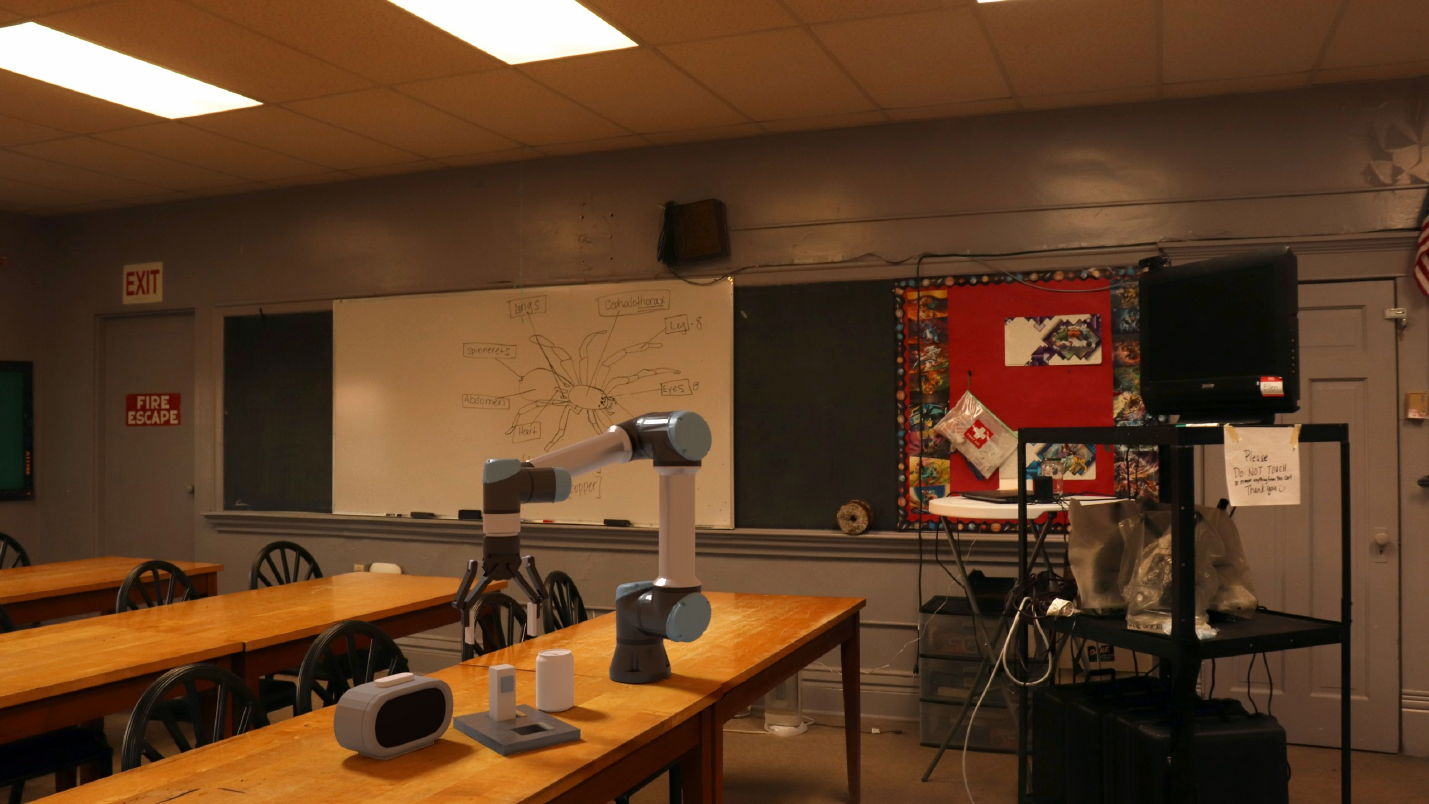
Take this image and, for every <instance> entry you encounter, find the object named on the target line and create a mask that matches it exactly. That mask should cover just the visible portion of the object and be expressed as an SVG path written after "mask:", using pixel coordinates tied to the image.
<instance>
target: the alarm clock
mask: <svg viewBox="0 0 1429 804" xmlns="http://www.w3.org/2000/svg"><path fill="white" fill-rule="evenodd" d="M453 714H454V694H453V692H452V688H451V687H450V685H449V684H448V683H447V682H445V681H444V680H442V679H440V678H435V677H429V676H421V675H415V674H414V673H412V672H401V673H396V674H392V675H388V676H385V677H380V678H377V679H374V681H370V682H366V683H363V684H362V683H361V684H359V685H356V686H354V687H352V688H349V689H348V690H347V691H345V692H344V694H342V695H341V697H339V700H338V702H337V704H336V706H335V709H334V714H333V733H334V737H335V739H336V742H337V743H338V745H339V746H340V747H341V748H344V749H346V750H349V751H353V752H357V755H360V756H364V757H367V758H368V757H369V758H372V759H376V760H380V761H385V762H386V761H387V760H391V759H394V758H397V757H400V756H402V755H406V754H407V753H411V752H414V751H417V750H420V749H423V748H426V747H429V746H431V745H434V741H435V740H438V739H440V738H442V737H443V735H444V734H445V733H446V732H447V731H448V729H449V727H450V725H451V723H452V720H453Z"/></svg>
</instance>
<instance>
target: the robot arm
mask: <svg viewBox="0 0 1429 804" xmlns="http://www.w3.org/2000/svg"><path fill="white" fill-rule="evenodd" d="M712 439H713V437H712V431H711V428H710V425H709V424H708V422H707V421H706V420H705V418H703V416H701V414H699V413H697V412H695V411H690V410H682V409H679V410H671V411H653V412H646V413H644V414H643V413H642V414H641V415H636V416H635V417H633V418H629V419H627V420H625V421H623V422H620V423H617V424H614V425H612V426H611V425H610V427H608V428H607V430H606V432H605V433H601V434H598V435H596V436H593V437H589V438H586V439H583V440H582V441H578V442H575V443H573V444H570V445H566V446H564V447H561V448H558V449H556V450H552V451H550V452H547V453H545V454H541V455H539V456H538V455H537V456H536V457H535V456H534V457H533V458H530V459H527V460H525V461H524V460H523V461H520V460H519V459H518V458H488V459H487V460H485V462H484V464H483V470H482V472H483V474H482V481H481V482H482V510H483V512H482V532H483V533H484V534H485V535H483V537H482V559H481V560H475V559H468V560H467V564H466V565H467V566H466V571H465V574H464V576H463V578H462V581H461V582H460V584H459V586H458V589H457V591H456V593H455V596H454V598H453V600H452V602H451V607H452V608H455V609H458V610H460V624H461V627H464V635H465V636H464V637H465V638H464V642H465V643H466V644H469V645H475V610H473V609H472V608H473V606H474V605H475V604H476V602H477V601H478V599H479V598H480V597H481V596H482V595H483V593H484V592H485V591H486V589H487V587H488V586H489V585H490V584H491V583H492V582H493V581H494V582H499V581H500V582H501V581H503V580H507V581H510V580H511V579H512V580H513V581H514V582H515V583H516V585H517V586H518V587H519V588H520V589H521V590H522V592H523V593H524V594H525V595H526V596H527V598H528V599H529V600H530V602H527V604H526V605H527V614H526V616H527V619H526V621H527V623H526V626H527V627H526V628H527V629H526V631H527V633H526V635H527V636H531V637H536V636H537V620H538V619H540V618H541V604H543V601H544V600H548V599H549V598H550V595H549V593H548V590H547V589H546V585H545V584H544V582H543V580H542V578H541V576H540V573H539V571H538V568H537V567H536V560H535V556H533V555H528V554H526V555H524V556H522V557H521V536H520V534H518V533H520V532H521V505H526V504H546V503H547V504H548V503H550V504H555V503H560V502H564V501H566V500H567V499H568V498H569V497H570V495H571V492H572V488H573V487H572V485H573V484H572V482H573V479H575V478H578V477H580V476H583V475H586V474H589V473H591V472H594V471H596V470H598V469H599V470H600V469H603V468H604V467H607V466H609V465H612V464H615V463H618V464H620V465H624V464H627V463H630V462H633V461H641V460H644V461H645V460H652V468H653V469H654V471H656V472H657V473H658V475H659V477H658V479H659V480H658V481H659V485H658V486H659V487H658V489H659V491H658V495H659V496H658V500H659V501H658V509H659V510H658V576H657V577H656V578H655V580H654V579H653V580H645V581H634V582H628V583H623V584H619V585H618V587H617V588H616V589H615V591H616V592H615V593H616V594H615V599H614V602H615V631H616V633H615V636H616V637H615V640H616V641H615V643H616V644H615V649H614V652H613V654H612V655H613V656H612V658H611V661H610V665H609V669H608V670H609V671H608V672H609V673H608V674H609V675H608V676H609V679H610V680H612V681H615V682H618V683H628V684H645V683H647V684H649V683H655V682H660V681H664V680H667V679H669V678H671V676H672V665H671V663H670V659H669V657H668V653H667V650H666V647H665V643H664V640H668V641H672V642H674V643H692V642H695V641H697V640H698V639H699V638H701V636H703V634H704V633H705V632H706V631H707V630H708V627H709V625H710V622H711V619H712V606H711V603H710V600H709V599H708V597H706V596H705V594H703V593H702V582H701V581H700V580H699V579H698V578H697V576H696V475H697V473H698V472H700V470H701V469H702V467H703V466H702V463H703V462H702V459H703V460H704V458H705V457H706V456H707V455H708V453H709V451H711V448H712V441H713V440H712ZM521 566H523V567H524V568H525V570H526V572H527V575H528V577H529V580H530V581H531V583H532V585H533V587H532V586H531V585H530V584H529V582H528V581H527V580H526V579H525V577H524V576H523V574H522V573H521V572H520V570H519V569H520V567H521ZM481 568H482V570H483V572H482V574H481V575H480V577H479V579H478V581H477V582H476V584H475V585H474V587H473V588H472V589H471V587H472V585H473V583H474V580H475V578H476V576H477V573H478V572H479V571H480V569H481ZM470 589H471V590H470Z"/></svg>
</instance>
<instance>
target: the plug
mask: <svg viewBox="0 0 1429 804" xmlns="http://www.w3.org/2000/svg"><path fill="white" fill-rule="evenodd" d="M516 669H517V667H516V666H514V665H511V664H509V663H504V664H503V663H502V664H497V665H492V666H491V665H490V666H488V711H489V719H491V720H493V721H495V722H498V721H503V720H508V719H514V718H516V706H517V705H516V704H517V699H516V698H517V695H516V694H517V690H516V689H517V687H516V685H517V683H516V682H517V681H516V680H517V676H516V674H517V673H516V672H517V670H516Z"/></svg>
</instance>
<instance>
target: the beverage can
mask: <svg viewBox="0 0 1429 804" xmlns="http://www.w3.org/2000/svg"><path fill="white" fill-rule="evenodd" d="M537 654H538V655H537V656H536V658H535V706H536V709H537V710H540V711H542V712H545V713H546V712H547V713H558V712H563V711H567V710H569V709H570V708H572V707H574V705H575V672H574V671H575V668H574V667H575V663H574V662H575V659H574V655H573V654H572V651H571V650H569V649H565V648H552V649H551V648H550V649H543V650H541V651H539V652H538V653H537Z"/></svg>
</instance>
